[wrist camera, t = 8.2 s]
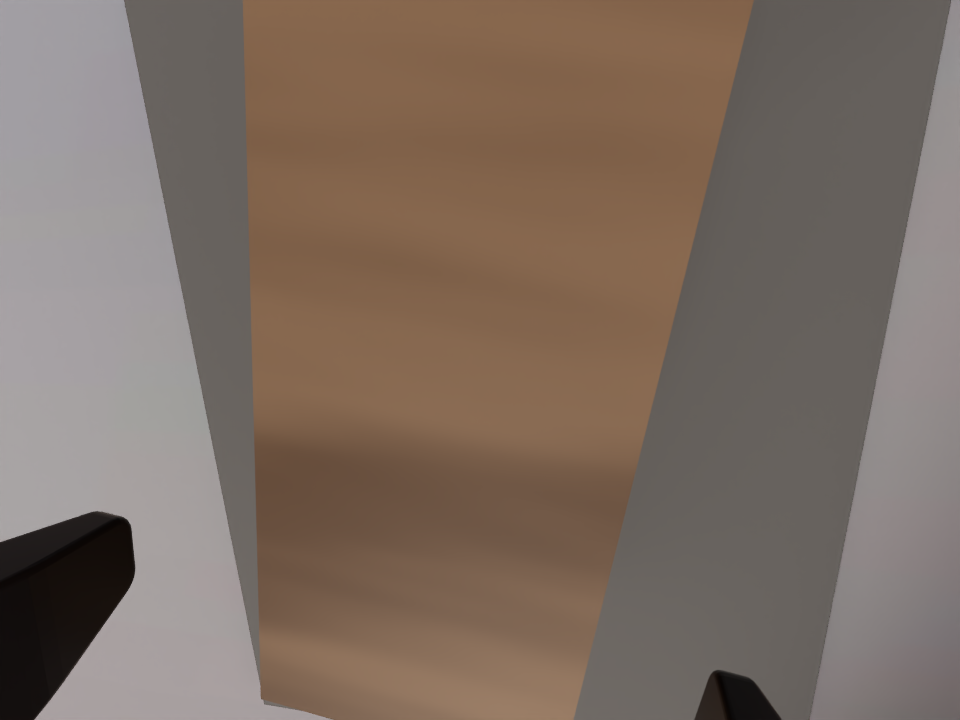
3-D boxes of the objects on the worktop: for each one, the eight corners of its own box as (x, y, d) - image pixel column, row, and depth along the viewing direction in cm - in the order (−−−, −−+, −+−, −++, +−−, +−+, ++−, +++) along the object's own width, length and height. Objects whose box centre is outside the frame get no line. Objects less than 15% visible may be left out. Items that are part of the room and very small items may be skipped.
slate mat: (788, 772, 16) (794, 795, 16) (274, 687, 19) (264, 704, 19) (1063, -674, 8) (1095, -733, 7) (63, -429, 11) (33, -458, 10)
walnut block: (557, 783, 10) (836, -329, 5) (260, 699, 11) (234, -348, 6) (579, 570, 15) (737, -128, 10) (368, 520, 15) (408, -154, 10)
